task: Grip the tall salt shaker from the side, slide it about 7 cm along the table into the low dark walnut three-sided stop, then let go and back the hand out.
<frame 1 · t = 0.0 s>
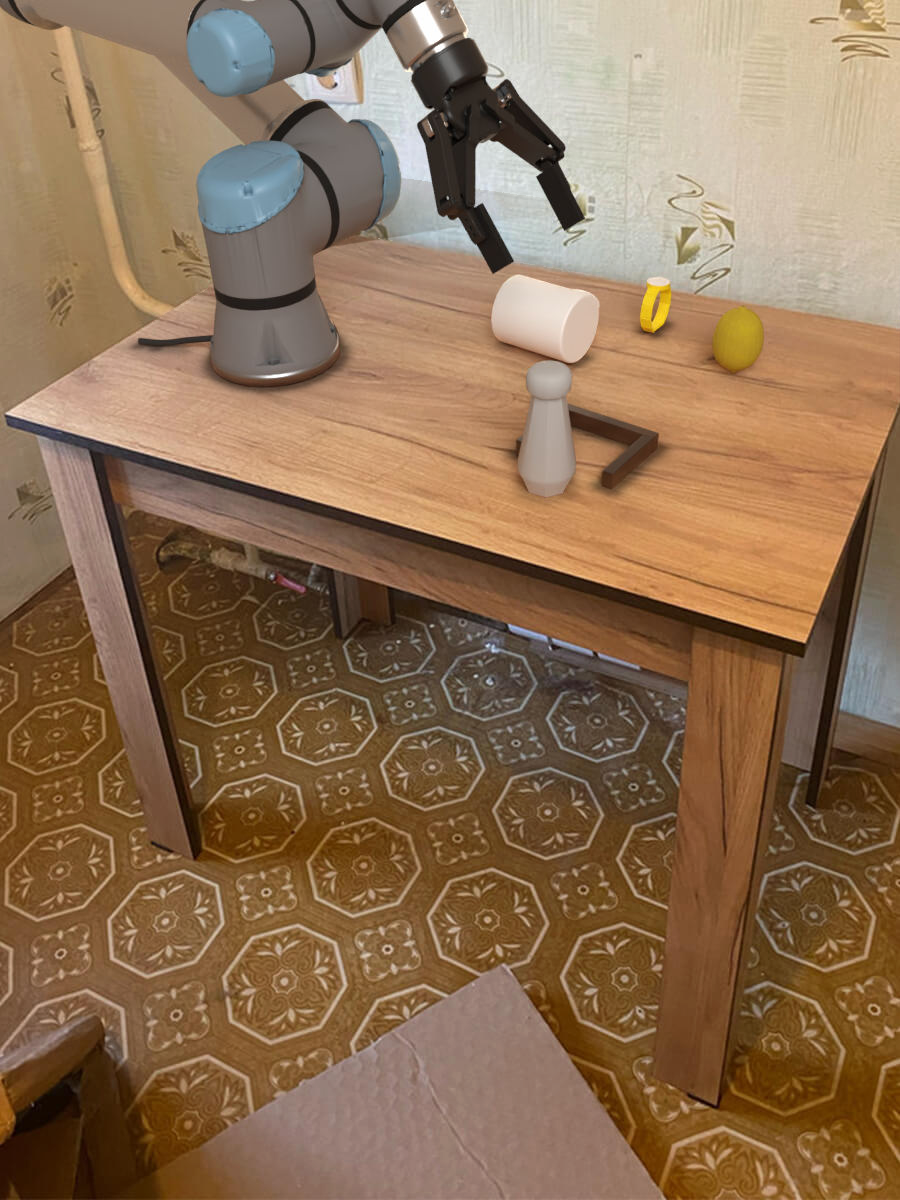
hand: (540, 246, 117), 15 cm above the table, tool tilted 35°, fingers open, 13 cm apart
walnut stop: (588, 449, 114), on the table
lemon: (733, 374, 126), on the table
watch: (653, 329, 135), on the table
salt shaker: (546, 487, 110), on the table
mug: (553, 344, 133), on the table
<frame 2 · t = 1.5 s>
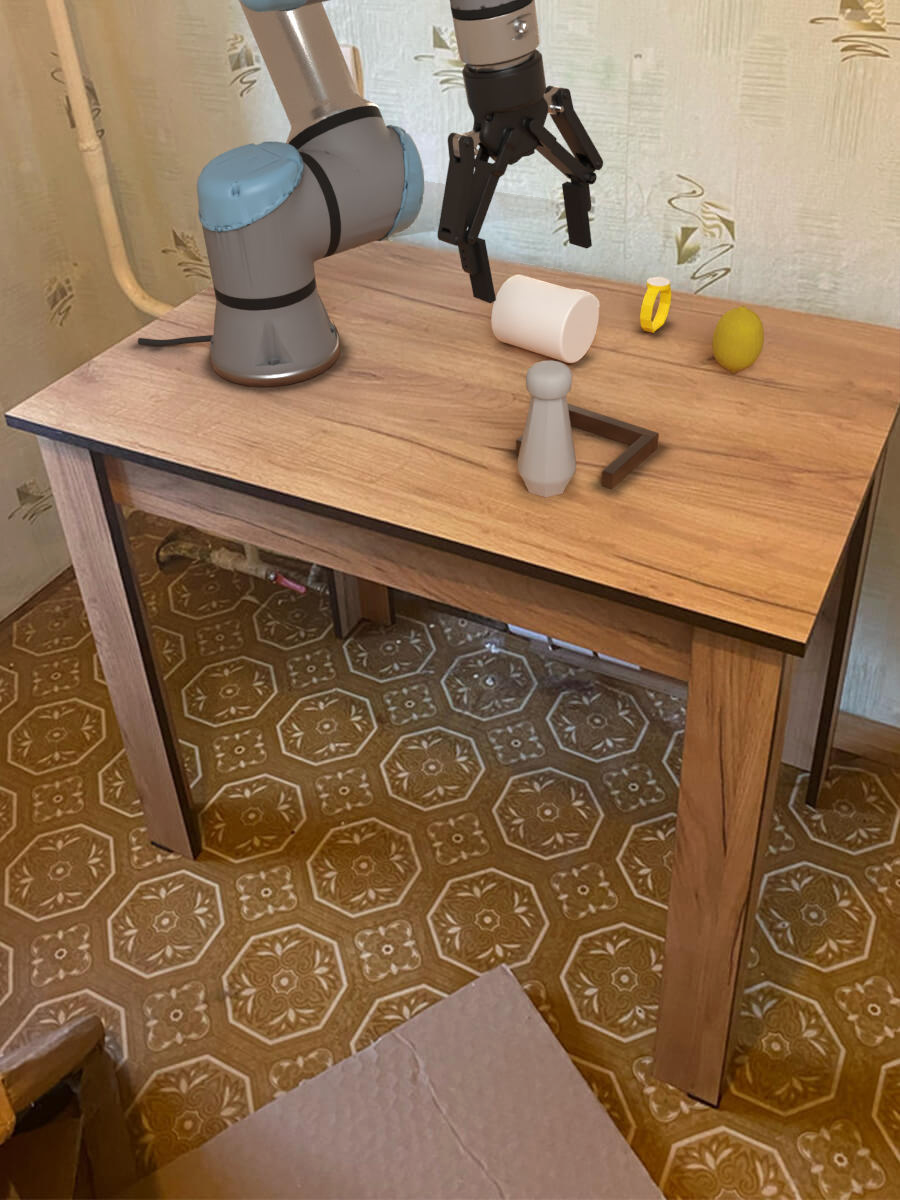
hand: (533, 271, 116), 14 cm above the table, tool pointing down, fingers open, 13 cm apart
nothing on the table moved.
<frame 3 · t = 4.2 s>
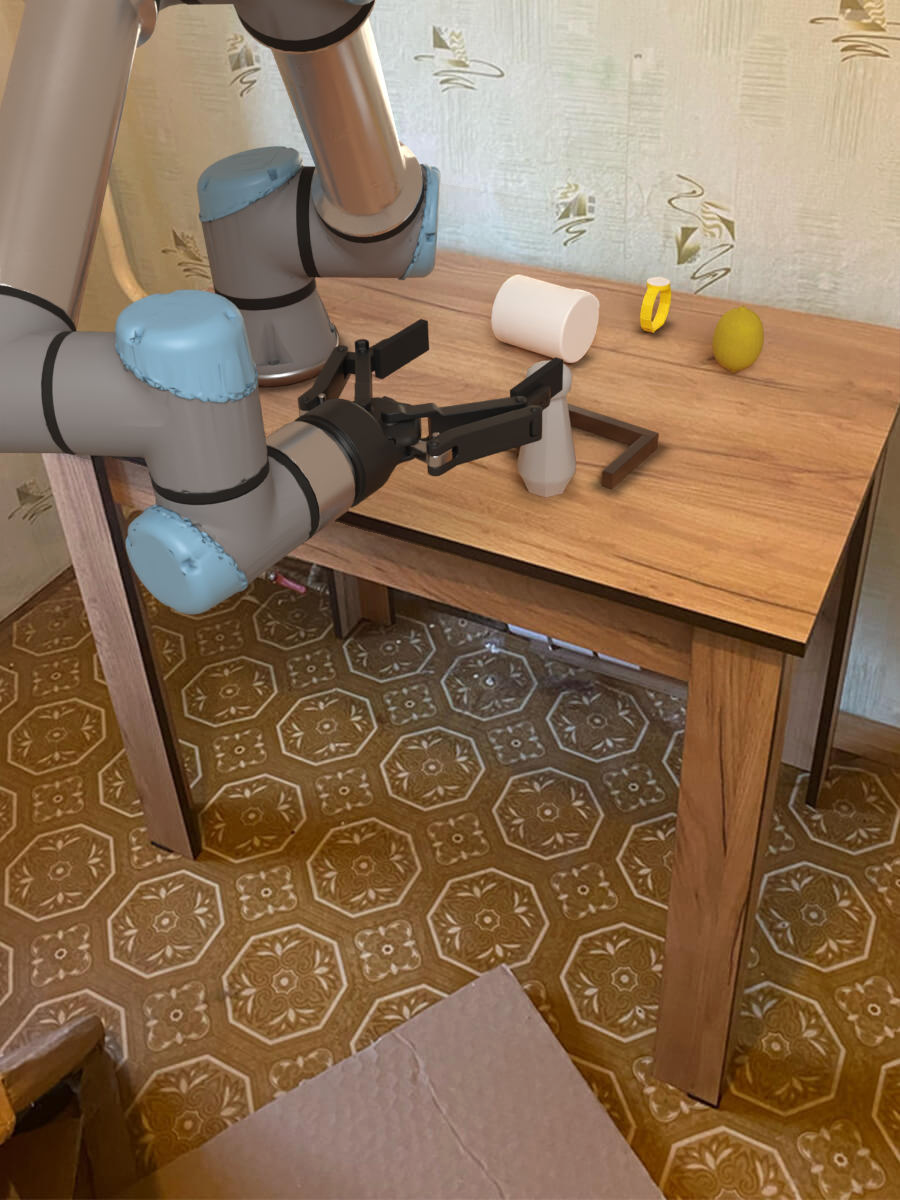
hand: (490, 353, 92), 18 cm above the table, tool horizontal, fingers open, 13 cm apart
nothing on the table moved.
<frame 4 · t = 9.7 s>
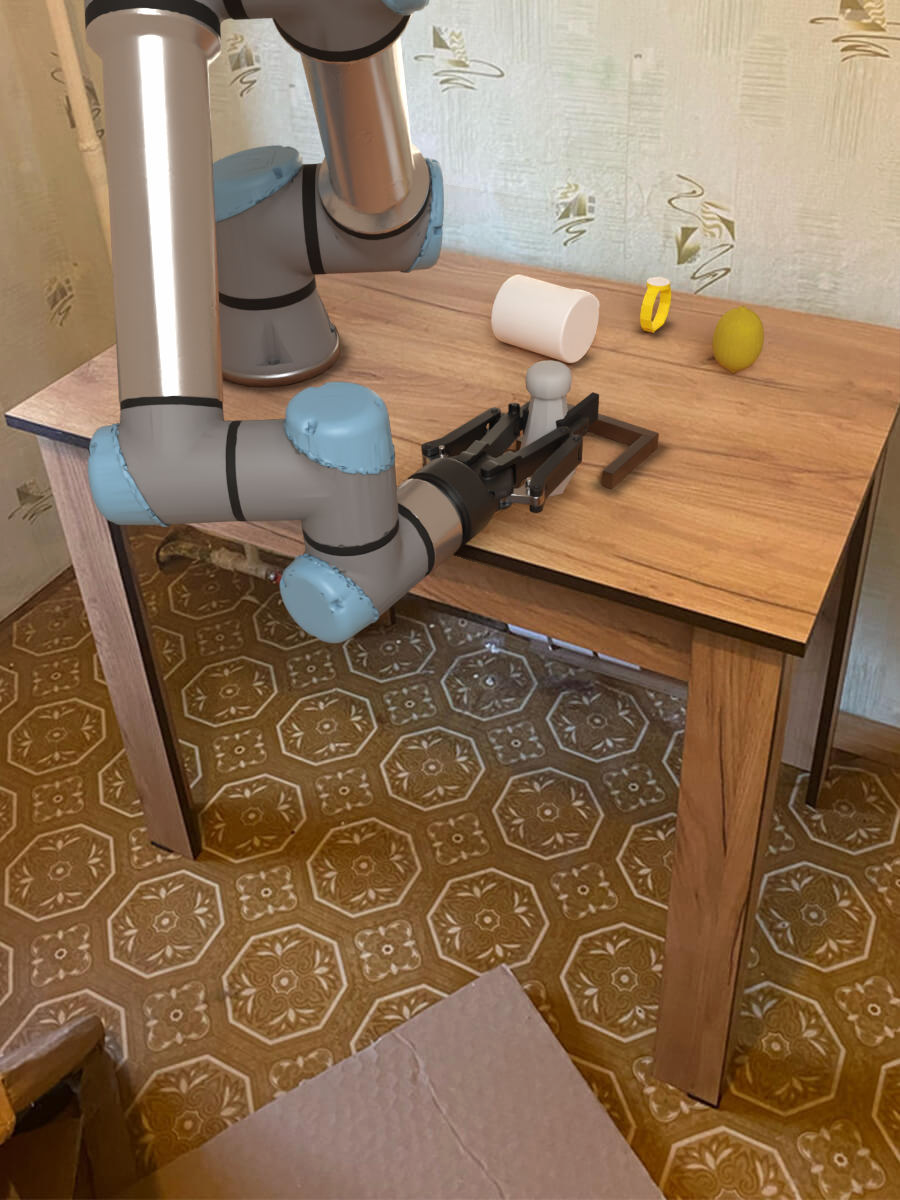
hand: (578, 400, 108), 7 cm above the table, tool horizontal, fingers closed on salt shaker, 3 cm apart
salt shaker: (546, 487, 110), on the table, touching gripper
everything else where it was.
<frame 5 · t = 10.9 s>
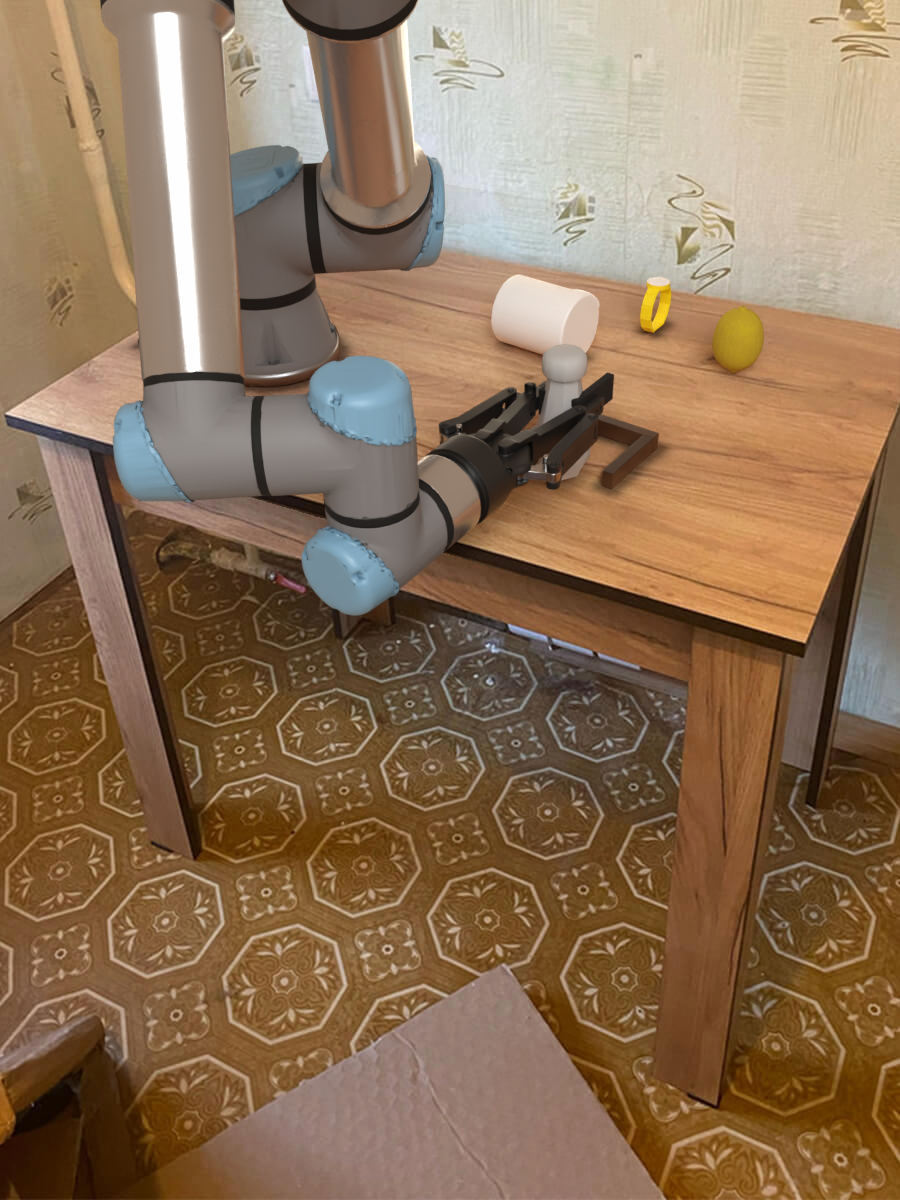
hand: (593, 380, 109), 8 cm above the table, tool horizontal, fingers closed on salt shaker, 3 cm apart
salt shaker: (560, 470, 111), on the table, touching gripper
everything else where it was.
when the fingers open (8 cm above the table, at t = 12.3 s): salt shaker stays where it is, on the table.
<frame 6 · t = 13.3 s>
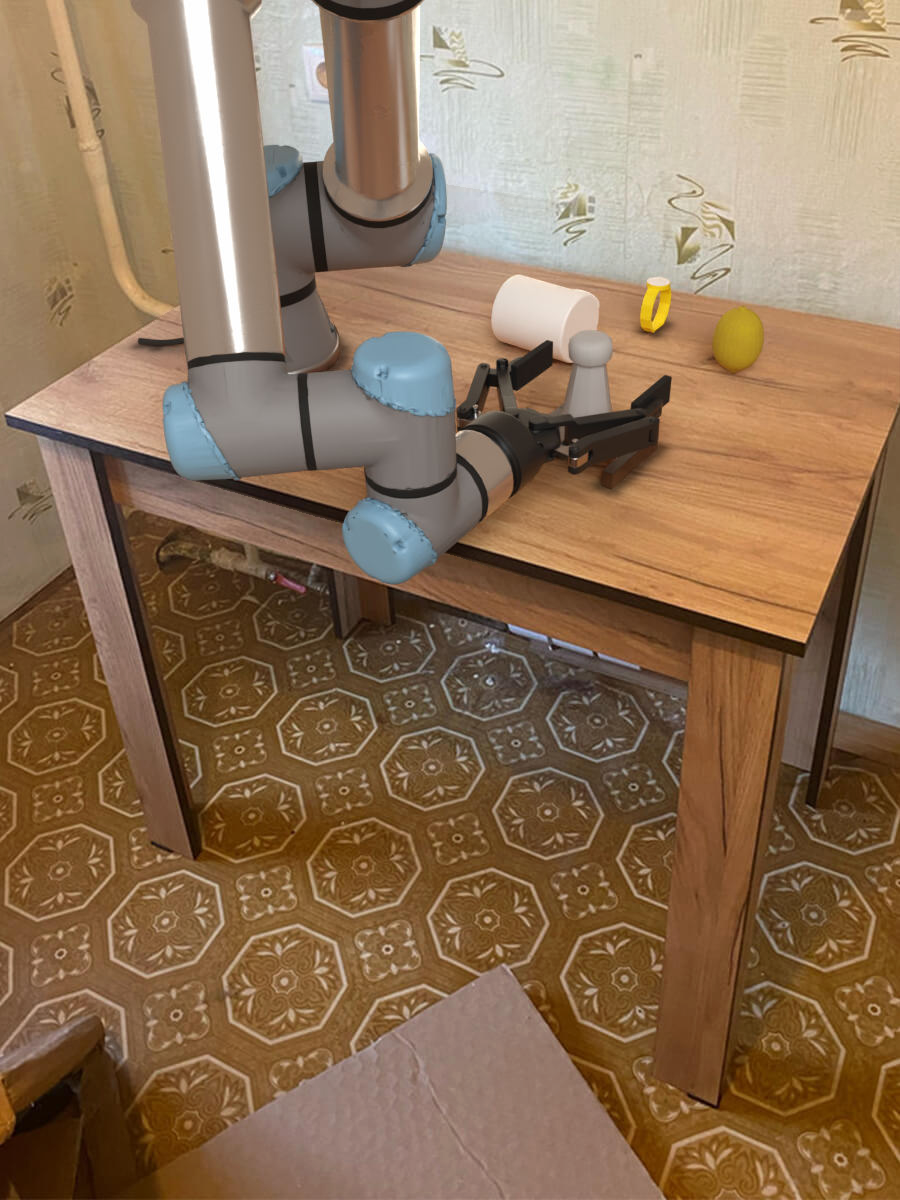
hand: (607, 369, 111), 8 cm above the table, tool horizontal, fingers open, 13 cm apart
salt shaker: (585, 453, 114), on the table
everything else where it was.
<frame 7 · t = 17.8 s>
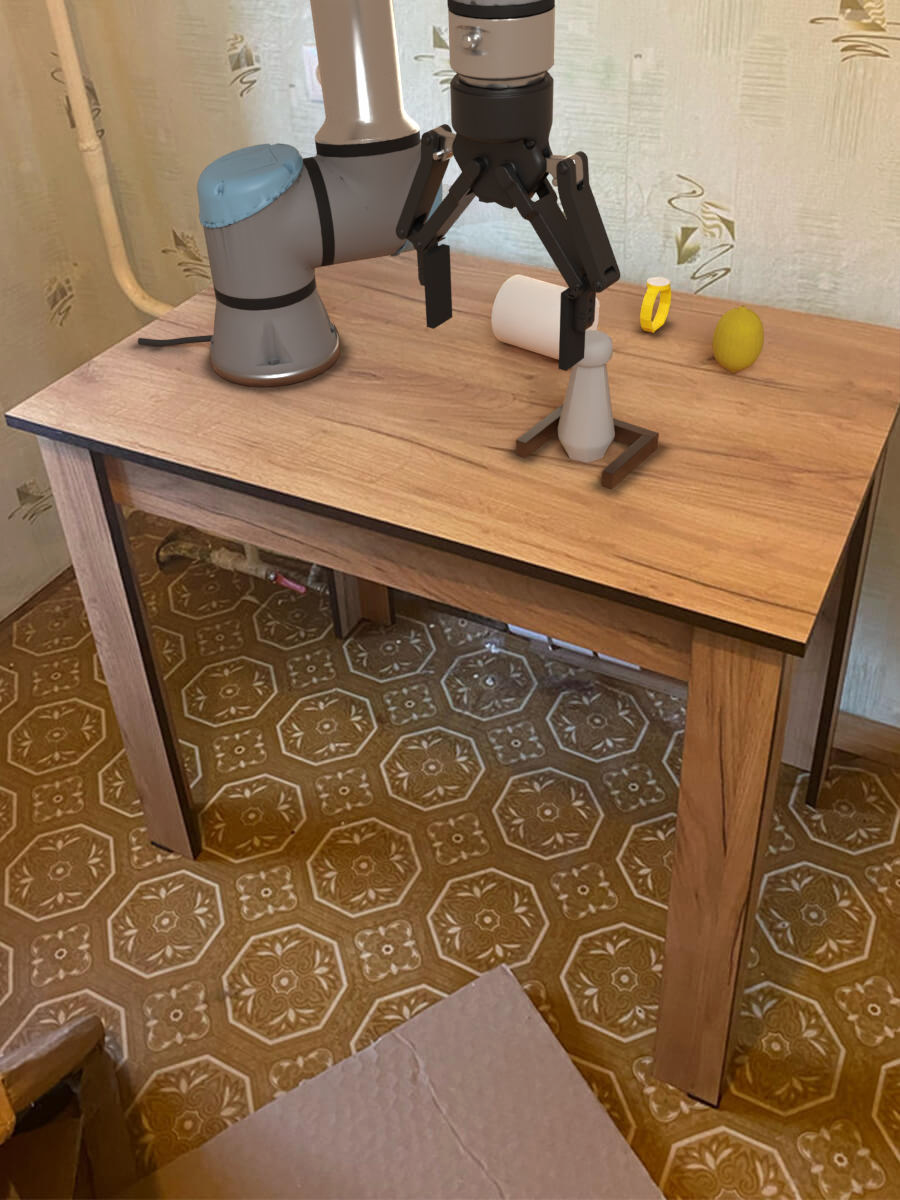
hand: (503, 342, 93), 18 cm above the table, tool pointing down, fingers open, 13 cm apart
nothing on the table moved.
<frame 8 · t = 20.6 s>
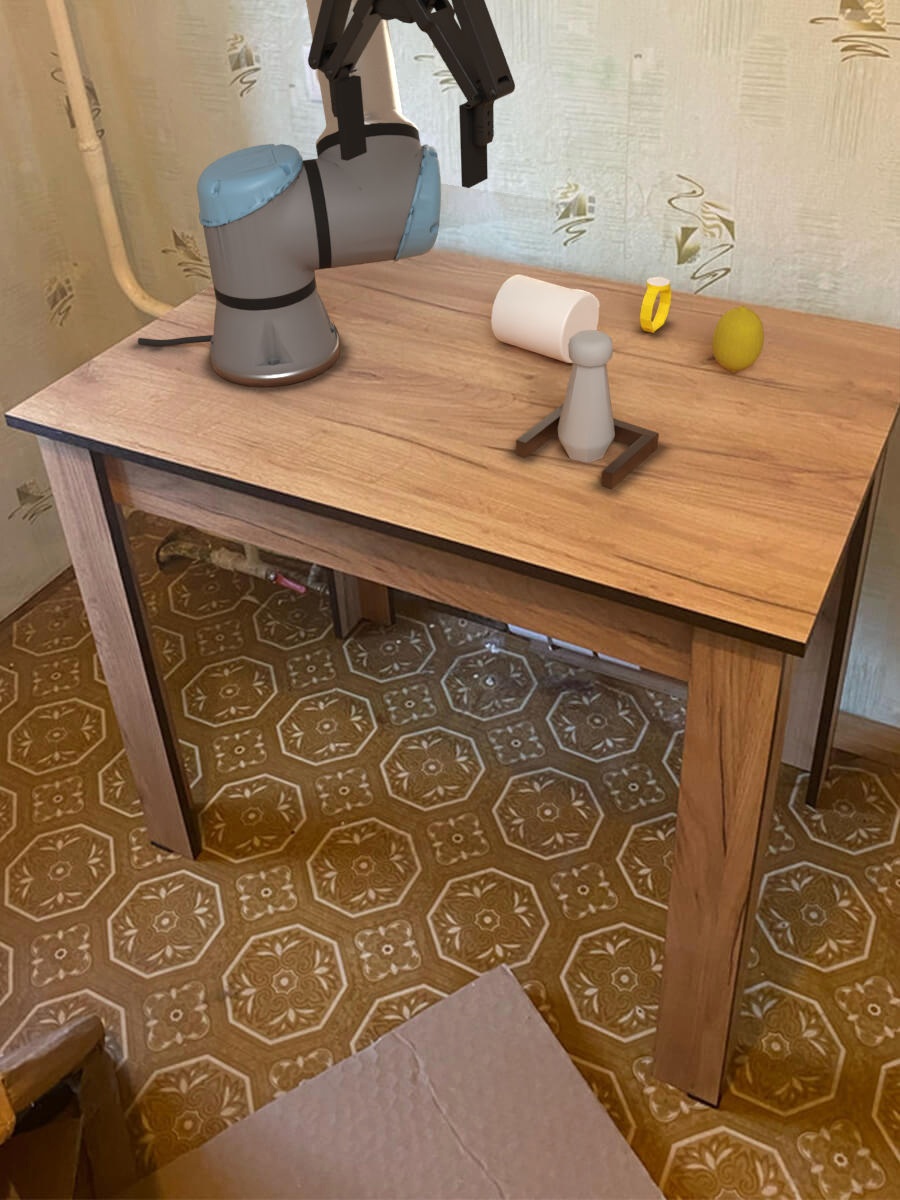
hand: (412, 169, 97), 29 cm above the table, tool pointing down, fingers open, 13 cm apart
nothing on the table moved.
at the end: salt shaker 0.7 cm from the target spot on the walnut stop, point 0.0 cm above the walnut stop's base; salt shaker tilted 0°; the gripper is holding nothing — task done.
